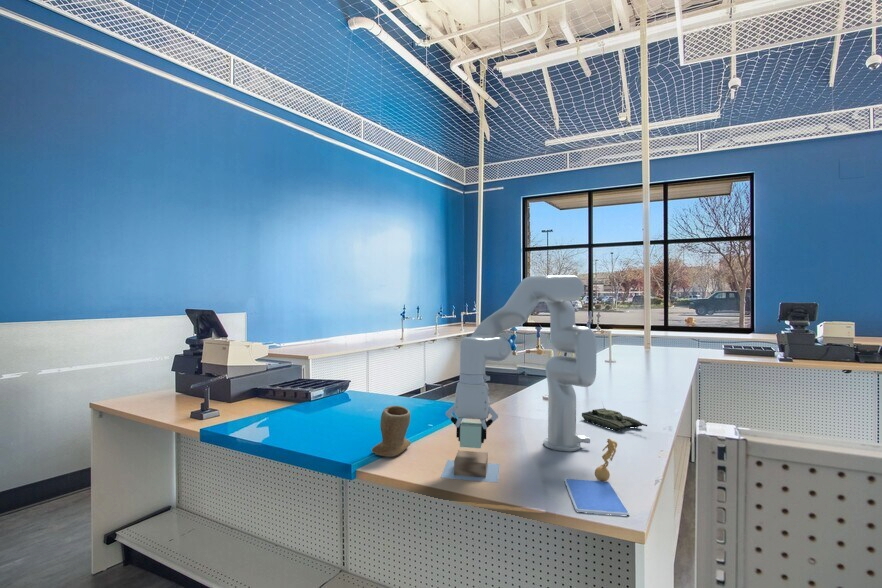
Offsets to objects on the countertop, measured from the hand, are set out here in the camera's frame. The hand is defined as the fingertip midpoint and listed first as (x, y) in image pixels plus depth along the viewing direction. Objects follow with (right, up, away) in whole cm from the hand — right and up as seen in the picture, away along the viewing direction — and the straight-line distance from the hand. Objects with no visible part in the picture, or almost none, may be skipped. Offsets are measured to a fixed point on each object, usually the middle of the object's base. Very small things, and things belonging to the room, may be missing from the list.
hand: (471, 440), depth 126 cm
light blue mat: (0, -10, 0) cm, 10 cm away
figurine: (+38, -10, -5) cm, 39 cm away
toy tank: (+64, -12, +51) cm, 83 cm away
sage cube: (0, -1, 0) cm, 1 cm away
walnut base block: (0, -9, 0) cm, 9 cm away
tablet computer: (+31, -11, -15) cm, 36 cm away
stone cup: (-24, -10, +17) cm, 32 cm away
